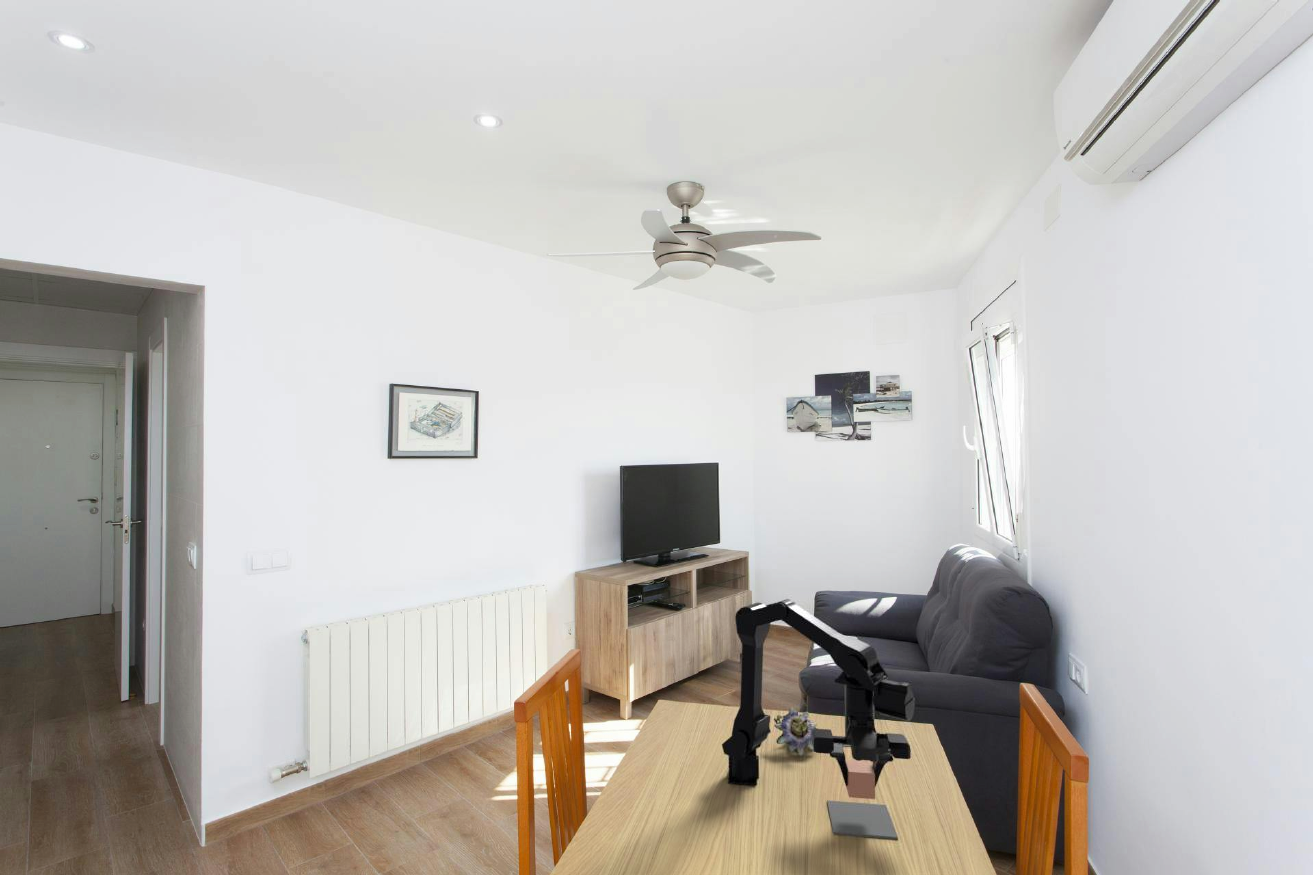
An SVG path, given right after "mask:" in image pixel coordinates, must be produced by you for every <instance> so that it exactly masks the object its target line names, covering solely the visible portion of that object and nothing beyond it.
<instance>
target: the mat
mask: <svg viewBox="0 0 1313 875" xmlns="http://www.w3.org/2000/svg"><path fill="white" fill-rule="evenodd" d="M826 804H827V809H828V814H829V817H830V824H831V829H832V832H833V835H842V836H854V837H865V838H866V837H867V838H875V839H876V838H877V839H887V840H889V839H890V840H891V839H892V840H899V836H898V834H897V831H896V828H895V825H894V823H893V821H892V818H891V815H890V813H889V810H888V807H887V805H886V804H879V803H877V804H876V803H867V802H865V803H864V802H852V801H842V800H839V801H838V800H829V799H828V800H826Z"/></svg>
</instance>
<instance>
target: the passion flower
mask: <svg viewBox="0 0 1313 875" xmlns="http://www.w3.org/2000/svg"><path fill="white" fill-rule="evenodd" d="M809 715H810V713H809V712H808V711H805V712H803V713H801V714H799V711H796V709H795V707H793V706H790V707H789V710H788V712H787V713H786V715H783V716H782V715H780V714H778V715H776V717H774V716H773V721H774V723H775V724H774V727H775V728H776V729H777V730H779V731H781V732H782V733H781V735H780V736H778V737H777V739H776V744H777V745H782V744H785V743H786V745H787V750H788V752H789V753H790V754H791V753H793V752H795V753H796V754H797V756H798V757H802V756H803V754H804V749H805V748H808V749H809V750H811V751H814V750H813V745H812V731H813V730H814V729H818V728H817V726H818V725H817V724H818V723H817V722H815V721H811V720H810V719H809Z"/></svg>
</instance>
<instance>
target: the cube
mask: <svg viewBox="0 0 1313 875" xmlns="http://www.w3.org/2000/svg"><path fill="white" fill-rule="evenodd" d="M872 765H873V764H872V762H871V761H857V760H846V769H847V777H848V786H846V785H845V787H846V791H847V795H848V798H856V799H857V798H858V799H866V800H869V799H870V800H876V787H875V773H874V770H873V767H872Z"/></svg>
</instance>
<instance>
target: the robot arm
mask: <svg viewBox="0 0 1313 875" xmlns="http://www.w3.org/2000/svg"><path fill="white" fill-rule="evenodd" d="M734 620H735V626H736V627H735V629H736V634H737V636H738V638H739V640H740V642H741V667H740V669H741V670H740V672H741V673H740V700H739V702H740V703H739V709H738V710H737V713H736V715H735V718H734V719H733V725H732V729H731V730H732V731H731V736H730V737H729V738H728V739H726V740H725V741H724V742H723V743H722V744H721V747H722V751H723V755H725V756H728V772H727V783H729V784H734V785H739V784H740V785H746V786H747V785H749V786H757V785H758V780H759V779H760V756H759V755H757V749H758V748H761V746H762V743H763V742H765V740H766V739H767V738H768V736H769V734H771V728H770V723H771V715H770V714H765V712H764V710H763V707H762V699H763V697H762V696H763V694H762V693H763V668H764V666H763V662H764V660H763V659H764V644H765V641H766V639H767V637H768V634H769V632H770V629H771V628H770V627H771V623H773V622H777V621H782V622H784V623H785V624H786V625H788V626H789V627H790V628H792V629H793V630H795V631H796V632H797V633H799V634H801V635H802V636H804V637H805V638H807V639H808V640H810V641H811V642H813V644H815V645H817V646H818V647H820V648H821V649H822V650H823V651H825V652H826V653H827V654H828V655H829V656H830V658H831V659H832V661H833V663H834V664H835V665H836V666H837V667H839V669H840V670H841V671H842V672H841V673H840V675H838V676H837V677H836V678H835V679H834V683H836V684H839V685H844V735H843V736H840V735H833V732H832V729H829V728H827V729H826V728H825V729H824V728H817V729H814V730H813V731H812V745H813V750H812V751H813V753H816V754H827V755H828V754H829V757H831V758H834V759H835V760H836V761H837V763H838V766H839V768H840V771H841V775H842V778H843V782H844V784H845V787H846V786H848V777H847V769H846V761H847V759H846V754H845V750H844V748H850V750H851V756H852V759H853V760H854V761H860V762H862V761H867V762H871V763H872V764H871V765H872V767H873V770H874V773H875V788H876V786H877V784H878V782H879V779H880V776H881V773H882V771H883V769H884V767H885V765H886V764H887V763H889V762H894V759H899V760H900V759H902V760H910V759H911V757H912V756H911V755H912V754H911V745H910V744H909V741H908V740H907V738H906V737H905V735H904V734H903V733H891V732H885V733H880V732H877V729H876V727H875V726H876V724H875V711H876V712H878V714H880V715H882V716H886V717H887V716H888V717H890V718H895V719H900V720H903V721H907V722H910V721H911V720H912V719H913V717H914V715H915V714H914V713H915V706H916V704H915V703H916V699H915V697H914V692H913V691H912V689H911V687H912V686H911V683H908V682H898V681H894V680H890V679H889V675H888V673H887V672H886V670H885V669H884V667H883V666H882V663H881V662H880V661H879V660H878V655H877V651H876V650H875V648H874V647H873V646H872V645H870V644H869V643H866V642H864V641H862V640H859V639H857V638H855V637H851V636H847V635H844V634H842V633H840V632H838V631H837V630H835V629H834V628H832V627H830V626H829V625H827V624H826V623H824V622H823V621H822V620H820V619H819V618H817V617H815V616H814V615H812V613H810V612H808V611H806V610H805V609H803V608H802V607H800V606H799V605H798V604H797V603H796V602H794V600H792V599H789V598H786V599H783V600H781V601H777V602H773V603H770V604H764V603H763V602H755V603H752V604H748V605H747V606H743V607H740V608H739V609H738V610H737V611H736V613H735V616H734ZM869 673H872V674H871V675H870V674H869Z"/></svg>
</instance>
